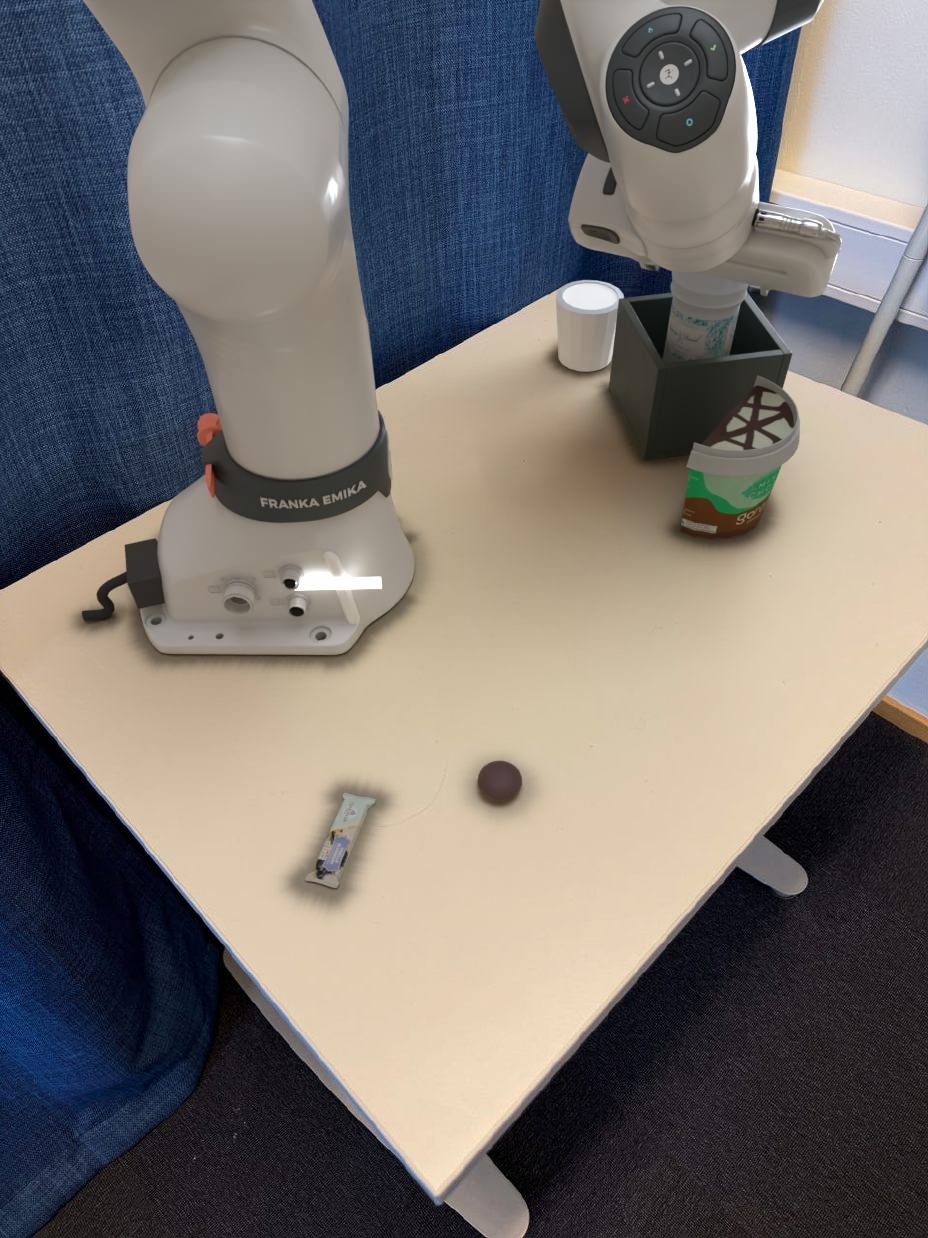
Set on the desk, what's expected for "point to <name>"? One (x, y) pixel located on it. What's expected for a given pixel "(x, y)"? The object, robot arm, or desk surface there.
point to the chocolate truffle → (499, 780)
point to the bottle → (702, 316)
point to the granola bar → (340, 840)
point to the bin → (685, 375)
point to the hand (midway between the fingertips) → (706, 273)
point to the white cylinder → (586, 324)
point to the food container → (740, 464)
